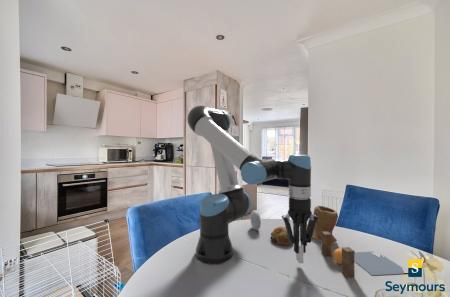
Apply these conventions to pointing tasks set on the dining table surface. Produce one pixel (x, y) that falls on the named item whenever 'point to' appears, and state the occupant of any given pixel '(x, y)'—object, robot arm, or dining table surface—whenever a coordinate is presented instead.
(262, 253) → the dining table surface
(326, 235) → the gate post left
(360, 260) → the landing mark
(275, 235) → the bread roll
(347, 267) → the gate post right
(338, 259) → the ball
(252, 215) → the donut
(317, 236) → the brown boot
